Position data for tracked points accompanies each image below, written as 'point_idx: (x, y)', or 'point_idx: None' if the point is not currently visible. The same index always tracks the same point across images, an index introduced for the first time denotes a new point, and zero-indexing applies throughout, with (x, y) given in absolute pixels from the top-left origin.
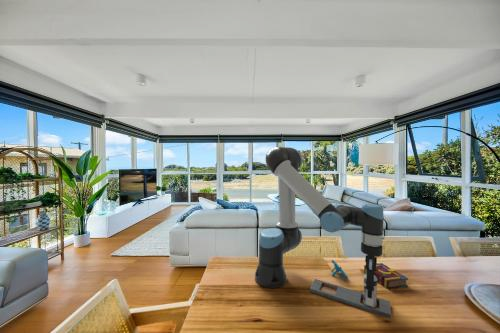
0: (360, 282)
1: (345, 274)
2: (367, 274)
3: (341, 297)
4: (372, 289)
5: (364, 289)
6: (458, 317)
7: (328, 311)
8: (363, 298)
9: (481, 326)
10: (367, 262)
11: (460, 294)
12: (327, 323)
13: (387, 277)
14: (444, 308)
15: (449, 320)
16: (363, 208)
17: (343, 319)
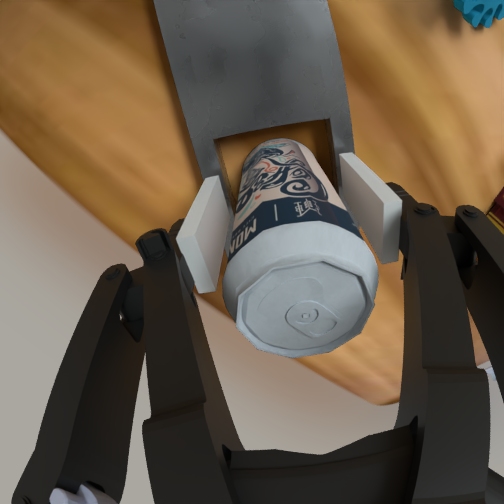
0: (480, 97)
1: (482, 12)
2: (58, 398)
3: (175, 32)
4: (123, 318)
5: (253, 182)
6: (388, 378)
7: (53, 54)
8: (261, 150)
9: (372, 398)
10: (418, 443)
11: (485, 360)
12: (5, 105)
13: None
14: None
15: (362, 372)
16: None
17: (57, 126)
